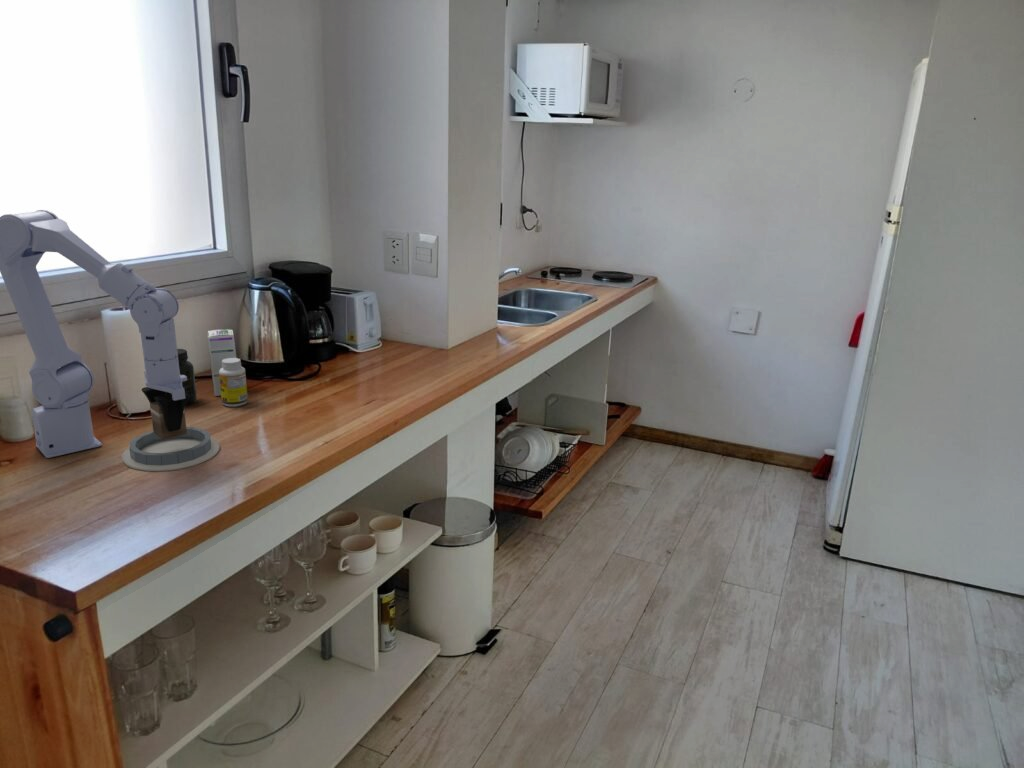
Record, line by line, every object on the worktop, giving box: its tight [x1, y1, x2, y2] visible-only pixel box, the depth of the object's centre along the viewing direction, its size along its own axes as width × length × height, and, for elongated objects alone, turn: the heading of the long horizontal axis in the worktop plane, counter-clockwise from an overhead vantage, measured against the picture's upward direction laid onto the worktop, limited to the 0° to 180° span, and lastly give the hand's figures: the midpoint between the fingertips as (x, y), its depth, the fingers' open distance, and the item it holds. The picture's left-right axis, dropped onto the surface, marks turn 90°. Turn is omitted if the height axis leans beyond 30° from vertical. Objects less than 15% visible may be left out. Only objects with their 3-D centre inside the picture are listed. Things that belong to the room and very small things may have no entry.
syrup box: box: [207, 328, 238, 397], centre depth 177 cm, size 6×6×14 cm
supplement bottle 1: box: [177, 348, 198, 407], centre depth 169 cm, size 7×7×12 cm
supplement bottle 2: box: [219, 357, 249, 408], centre depth 170 cm, size 6×6×10 cm
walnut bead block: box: [149, 402, 187, 440], centre depth 143 cm, size 5×5×6 cm
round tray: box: [121, 426, 221, 472], centre depth 144 cm, size 17×17×2 cm
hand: (169, 426), depth 143 cm, fingers closed on walnut bead block, 4 cm apart
